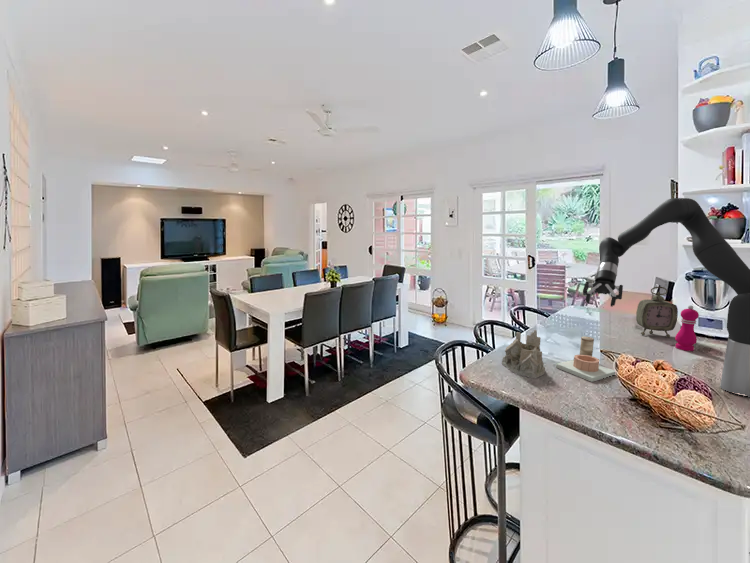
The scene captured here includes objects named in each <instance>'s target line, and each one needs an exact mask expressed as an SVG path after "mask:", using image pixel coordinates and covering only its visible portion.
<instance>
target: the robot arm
mask: <svg viewBox="0 0 750 563" xmlns="http://www.w3.org/2000/svg"><path fill="white" fill-rule="evenodd" d="M669 223H675V224H676V223H680V224H681V226H683V227H684V228H685V230H687V231H688V233H689V234H690V236H691V240H692V241H691V243H692V244H691V245H692V252H693V254H694V256H695V257H696V258H697V260H698V261H699V262H700V264H701V265H702V266H703V268H704V269H705V270H706V271H708V272H709V273H710V274H712V275H713V276H714V277H716V278H717V279H719V280H721V281H722V282H724V283H725V284H726V285H728V286H729V287H731V289H732V290H733V291H734V292H735V294H736V295H735V296H734V297H733V298H732V299H731V300H730V302H729V305H728V308H727V318H726V330H727V332H728V337H727V343H726V349H725V355H724V361H723V367H722V372H721V377H720V378H721V379H720V385H719V388H720V387H721V388H722V389H721V388H720V389H721V390H723V389H724V390H723V391H725V390H726V391H725V392H727V391H729V392H734V393H740V394H745V395H747V396H748V397H747V398H749V397H750V268H749V266H748V265H747V264H746V263H745V262H744V261H743V260H742V259H741V257H740V256H739V255H738V252H736V251H735V249H734V248H733V247H732V246H731V244H729V243H728V241H727V240H726V239H725V238H724V237H723V236H722V234H721V233H720V232H719V231H718V230H717V228H716V227H715V226H714V224H712V222H711V221H710V220H709V218H708V216H707V214H706V213H705V211H704V209H703V208H702V207H701V205H700V204H699V203H698V202H697V201H696V200H695V199H693V198H688V197H673V198H672V197H671V198H669V199H666V200H665V201H663V202H662V203H661V204H659V205H658V206H657V207H656V208H655V209H654V210H652V211H651V212H650V213H648V214H647V216H645V217H644V218H642V219H641V220H640V221H639V222H637V223H636V224H634V225H633V226H631V227H629V228H627V229H626V230H625V231H623V232H621V233H620V234H619V235H618V236H617V239H615V238H613V237H604V238H603V239H602V240H601V242H600V243H599V247H598V250H599V251H598V252H599V257H600V260H599V265H598V267H597V270H596V275H595V277H594V282H593V283H592V282H589V281H585V284H584V286H583V289H582V295H583V296H586V297H585V302H586V303H587V304H590V302H591V297H592V296H594V295H596V294H599V295H609V297H610V298H611V300H610V307H611V308H612V307H615V305H616V301H617V300H622V299H623V291H624V290H623V289H624V288H623V287H624V285H622V284H619V285H616V279H617V276H618V267H619V262H620V259H619V258H620V257H623V255H624V254H625V253H626V252H627V251H629V249H631V248H632V247H633V246H634V245H637V244H638V243H640V242H642V241H643V240H645V239H646V238H648V237H649V236H650V234H651V233H652V232H653V230H654V229H657V228H659V227H661V226H663V225H665V224H669ZM614 290H616V291H617V292H618V294H616V293H615V292H614ZM729 392H728V393H729Z"/></svg>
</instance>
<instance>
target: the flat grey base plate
mask: <svg viewBox="0 0 750 563" xmlns="http://www.w3.org/2000/svg"><path fill="white" fill-rule="evenodd" d="M555 368H556V369H559V370H561V371H564V372H566V373H568V374H571V375H574V376H576V377H578V378H581V379H584V380H586V381H589V382H591V383H594V382H596V381H599V380H600V381H601V380H604V379H607V378H606V377H608V378H610V377H609V376H611V377H613V376H612V375H615V371H616V370H615V369H612V368H608V367H605V366H603V365H601V364H600V359H599V358H597V357H595V356H593V355H592V356H588V355H580V354H576V355H575V354H574V356H573V359H572V360H567V361H563V362H562V361H561V362H559V363H556V364H555ZM615 376H616V375H615ZM603 378H604V379H603Z"/></svg>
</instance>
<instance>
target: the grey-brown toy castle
mask: <svg viewBox="0 0 750 563" xmlns="http://www.w3.org/2000/svg"><path fill="white" fill-rule="evenodd" d="M521 335H522V333H521V332H518V331H517V332H516V336H515V339H514V340H513V341H512V342H511V343H510V344H509V345H508V346H506V347H505V350H504V352H505V355H504V356H503V357H502V359H501V364H502V366H504V367H505V368H506V369H508V370H510V371H511V372H512V373H514V374H516V375H517V376H521V377H527V378H532V379H538V378H540V377H541V376H543V375H545V374H546V367H545V366H544V360H543V351H541V337H540V336H538V333H537V329H534V330H533V331H532V332H531V334H530V335H529V334H528V335H527V334H526V340H525V341H526V343H522V341H521V339H522V336H521Z"/></svg>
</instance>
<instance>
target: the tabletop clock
mask: <svg viewBox="0 0 750 563" xmlns="http://www.w3.org/2000/svg"><path fill="white" fill-rule="evenodd" d="M655 289H664V290H665V292H664V293H661V292H660V291H658V292H657V293H655V292H653V290H655ZM650 293H651V294H653V295H654V296H652V297H651V299H643V300H640V301H639V302H638V304H637V308H636V313H635V314H636V316H635V318H636V319H635V320H636V324H637V325H639V326H640V327H642V328H643V331H642V332H640V334H641V335H642V336H645V333H646V331H647V330H649V331H648V332H649V334H650V335H653V333H654V331H658V332H659V331H660V332H665V337H666V338H670V337H671V334H670V333H668V332H669V331H670V332H671V331H673V330H674V329H675V327H676V324H677V321H678V314H679V311H678V310H679V309H678V306H677V305H676V304H674V303H673V302H669V301H667V300H665V298H664V297H663V295H666V294H668V289H667V288H666V287H664V286H654V287H652V288H651V289H650Z"/></svg>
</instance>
